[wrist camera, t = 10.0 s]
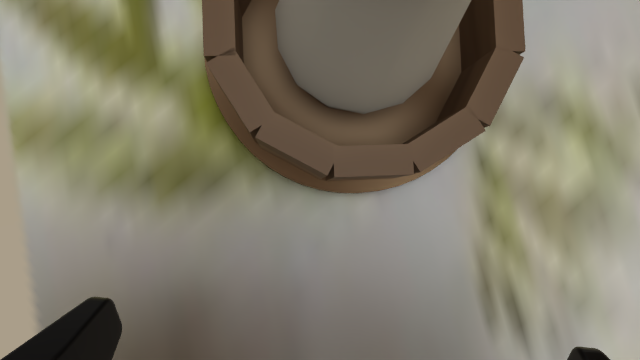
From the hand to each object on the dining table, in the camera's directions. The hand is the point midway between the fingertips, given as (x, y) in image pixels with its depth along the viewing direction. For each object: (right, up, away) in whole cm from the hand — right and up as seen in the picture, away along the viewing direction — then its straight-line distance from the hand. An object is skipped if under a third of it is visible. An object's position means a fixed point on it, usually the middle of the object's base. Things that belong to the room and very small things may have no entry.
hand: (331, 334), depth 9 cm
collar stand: (+1, +8, +10) cm, 13 cm away
